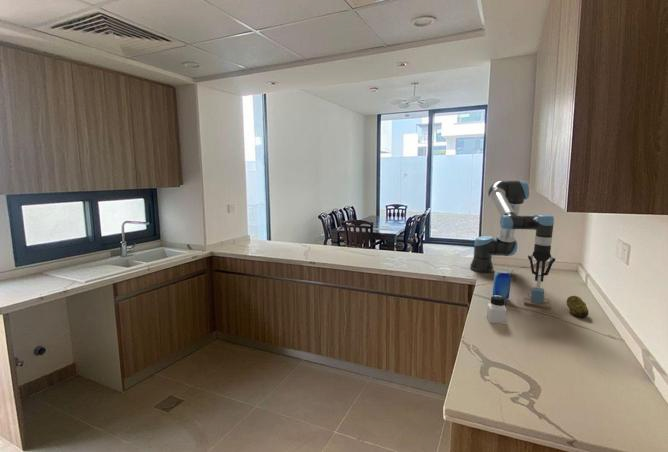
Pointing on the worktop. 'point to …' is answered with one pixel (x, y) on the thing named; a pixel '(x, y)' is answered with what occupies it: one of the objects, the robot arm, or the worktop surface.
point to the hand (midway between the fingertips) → (538, 286)
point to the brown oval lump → (577, 306)
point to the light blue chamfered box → (537, 295)
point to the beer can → (502, 283)
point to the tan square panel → (528, 302)
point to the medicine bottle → (497, 310)
